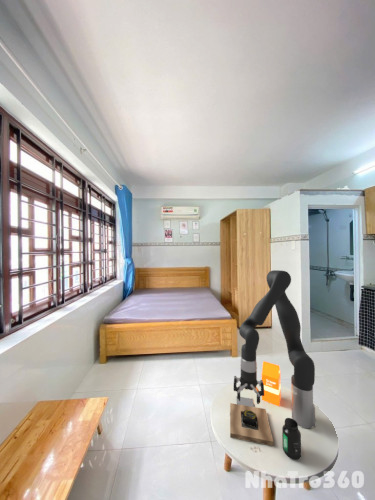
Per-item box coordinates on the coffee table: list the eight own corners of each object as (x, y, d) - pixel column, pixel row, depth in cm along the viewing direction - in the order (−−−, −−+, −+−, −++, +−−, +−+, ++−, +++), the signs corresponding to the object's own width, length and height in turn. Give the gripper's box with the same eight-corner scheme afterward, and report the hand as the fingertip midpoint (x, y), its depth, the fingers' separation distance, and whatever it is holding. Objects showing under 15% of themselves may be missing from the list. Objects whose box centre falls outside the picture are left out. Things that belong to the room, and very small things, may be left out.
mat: (252, 399, 108) (252, 398, 108) (254, 410, 100) (254, 409, 100) (236, 396, 110) (236, 396, 110) (236, 407, 102) (236, 406, 102)
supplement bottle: (285, 458, 76) (284, 427, 77) (280, 442, 83) (280, 414, 83) (304, 462, 75) (303, 431, 75) (298, 446, 81) (297, 417, 82)
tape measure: (241, 426, 91) (241, 418, 91) (243, 415, 97) (243, 407, 98) (256, 430, 89) (256, 422, 89) (257, 419, 95) (257, 411, 95)
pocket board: (265, 412, 99) (265, 409, 99) (273, 446, 81) (273, 441, 82) (230, 406, 103) (230, 403, 103) (230, 437, 85) (230, 433, 85)
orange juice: (278, 406, 103) (278, 369, 104) (261, 399, 108) (261, 363, 109) (281, 397, 109) (280, 362, 110) (264, 391, 114) (264, 357, 115)
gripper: (262, 365, 95) (262, 398, 95) (233, 361, 99) (233, 393, 98) (265, 374, 88) (265, 410, 88) (233, 369, 91) (233, 404, 91)
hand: (248, 401), depth 93 cm, fingers open, 8 cm apart
